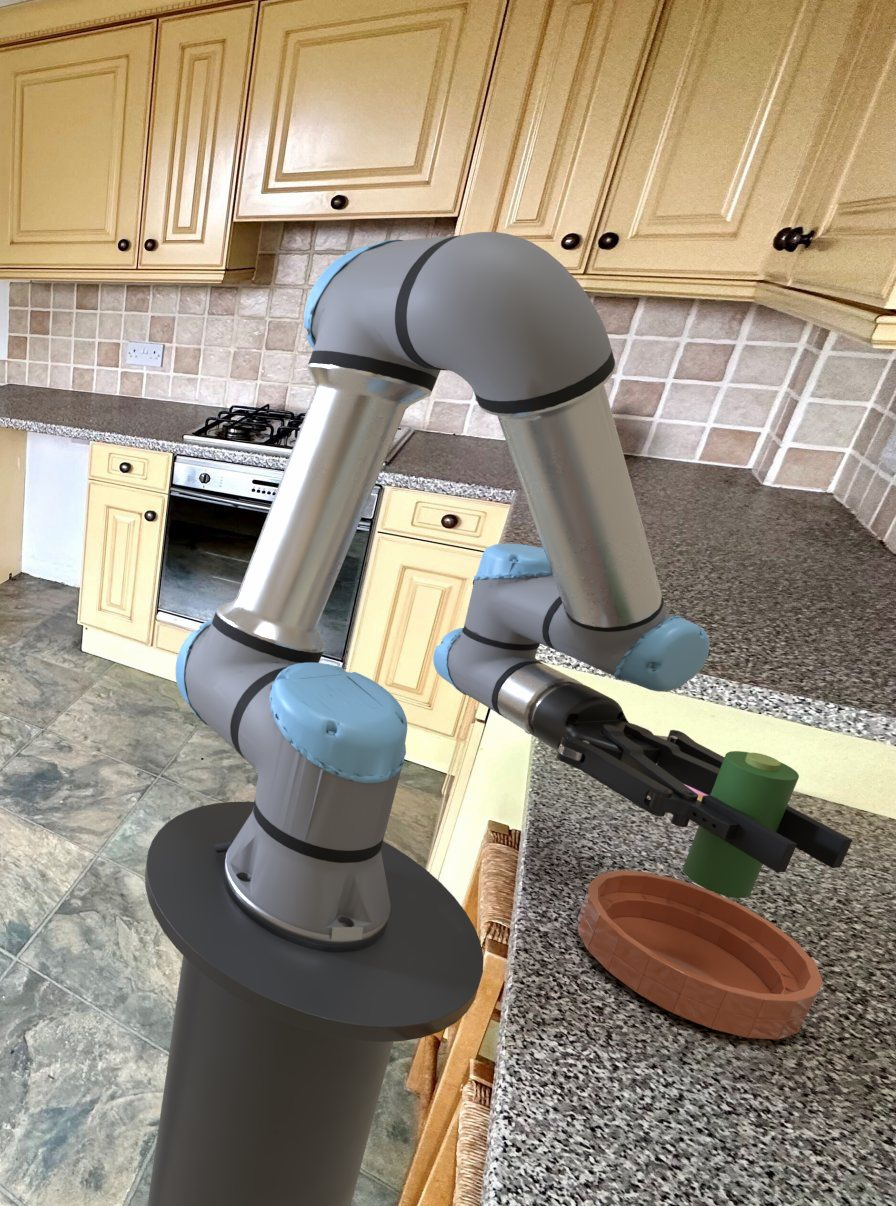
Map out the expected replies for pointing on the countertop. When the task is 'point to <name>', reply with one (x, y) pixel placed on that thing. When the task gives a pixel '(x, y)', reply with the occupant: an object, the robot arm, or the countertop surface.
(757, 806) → the battery
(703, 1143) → the countertop surface
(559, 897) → the countertop surface
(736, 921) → the bowl
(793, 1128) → the countertop surface
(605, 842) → the countertop surface
